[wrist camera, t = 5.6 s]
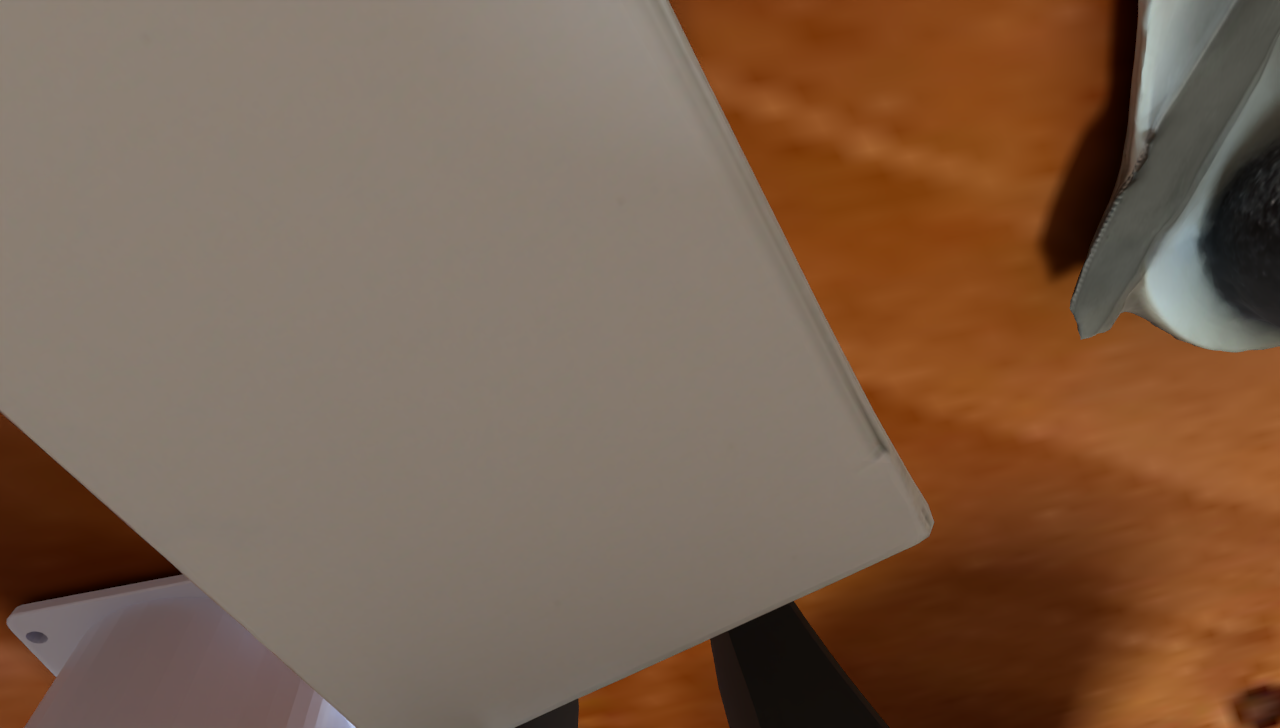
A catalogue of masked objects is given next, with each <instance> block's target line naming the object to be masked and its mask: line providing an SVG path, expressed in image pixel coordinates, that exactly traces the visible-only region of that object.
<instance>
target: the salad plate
mask: <svg viewBox="0 0 1280 728" xmlns="http://www.w3.org/2000/svg"><path fill="white" fill-rule="evenodd" d="M1070 310H1071V312H1072V313H1073V315H1074V317H1075V320H1076V322H1077V326H1078V331H1079V334H1080V336H1081V339H1085V338H1089V337H1092V336H1094V335H1096V334H1098V333H1104V332H1106V331H1108V330H1110V328H1111V327H1112V325H1113V324H1114V322H1115V321H1116V319H1117V318H1118V316H1119V315H1120V313H1122V312H1131V313H1133V314H1136V315H1138V316H1140V317H1142V318H1144V319H1146V320H1148V321H1150V322H1151V323H1152V324H1153V325H1154V326H1156V327H1158V328H1160V329H1162V330H1164V331H1165V332H1167V333H1169V334H1171V335H1172V336H1173V337H1174V338H1176V339H1178V340H1181V341H1184V342H1187V343H1190V344H1192V345H1194V346H1198V347H1201V348H1205V349H1210V350H1221V351H1226V352H1242V351H1246V350H1264V349H1268V348H1273V347H1278V346H1280V0H1139V1H1138V26H1137V36H1136V47H1135V58H1134V66H1133V74H1132V84H1131V95H1130V106H1129V117H1128V126H1127V133H1126V139H1125V144H1124V150H1123V155H1122V161H1121V166H1120V170H1119V173H1118V177H1117V181H1116V184H1115V187H1114V190H1113V193H1112V195H1111V198H1110V201H1109V203H1108V205H1107V208H1106V210H1105V212H1104V214H1103V216H1102V218H1101V221H1100V223H1099V225H1098V228H1097V230H1096V233H1095V235H1094V237H1093V240H1092V242H1091V244H1090V247H1089V250H1088V254H1087V258H1086V260H1085V262H1084V265H1083V267H1082V270H1081V272H1080V275H1079V277H1078V280H1077V283H1076V287H1075V290H1074V293H1073V296H1072V299H1071V303H1070ZM1081 339H1080V340H1081Z"/></svg>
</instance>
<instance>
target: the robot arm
mask: <svg viewBox="0 0 1280 728" xmlns="http://www.w3.org/2000/svg"><path fill="white" fill-rule="evenodd" d="M6 624H7V625H8V627H9V629H10V630H11V631H12V632H13V633H14V634H15V635H16V636H17V637H18V638H19V639H20V640H21V641H22V642H23V643H24V644H25V645H26V646H27V648H28V649H29V650H30V651H31V652H32V653H33V654H34V655H35V656H36V657H37V658H38V659H39V660H40V661H41V662H42V663H43V664H44V665H45V666H46V667H47V668H48V669H49V670H50V671H51V672H52V673H53V674H54V675H55V676H56V679H55V680H54V682H53V684H52V685H51V687H50V688H49V690H48V691H47V693H46V695H45V696H44V698H43V699H42V701H41V702H40V704H39V705H38V707H37V709H36V710H35V712H34V713H33V715H32V716H31V718H30V720H29V721H28V723H27V724H26V726H25V727H24V728H356V727H355V726H354V725H353V724H351V723H350V722H349V721H348V720H347V719H346V718H345V717H344V716H343V715H342V714H340V713H339V712H338V711H337V710H336V709H335V708H334V707H333V706H332V705H330V704H329V703H328V702H327V701H326V700H325V699H324V698H323V697H321V696H320V695H319V694H318V693H317V692H316V691H315V690H313V689H312V688H311V687H310V686H309V685H308V684H307V683H305V682H304V681H303V680H302V679H301V678H300V677H299V676H297V675H296V674H295V673H294V672H293V671H292V670H290V669H289V668H288V667H287V666H286V665H285V664H284V663H283V662H282V661H281V660H280V659H279V658H277V657H276V656H275V655H274V654H273V653H272V652H271V651H270V650H268V649H267V648H266V647H265V646H264V645H263V644H261V643H260V642H259V641H258V640H257V639H256V638H255V637H254V636H253V635H252V634H251V633H250V632H248V631H247V630H246V629H245V628H244V627H243V626H242V625H241V624H240V623H238V622H237V621H236V620H235V619H234V618H233V617H231V616H230V615H229V614H228V613H227V612H226V611H224V610H223V609H222V608H221V607H220V606H219V605H217V604H216V603H215V602H214V601H213V600H212V599H210V598H209V597H208V596H207V595H206V594H205V593H204V592H203V591H201V590H200V589H199V588H198V587H197V586H196V585H195V584H193V583H192V582H191V581H190V580H189V579H188V578H187V577H186V576H184V575H183V574H182V575H177V576H172V577H166V578H161V579H156V580H150V581H145V582H140V583H135V584H129V585H124V586H119V587H113V588H108V589H103V590H98V591H92V592H87V593H82V594H76V595H71V596H66V597H61V598H55V599H50V600H45V601H39V602H34V603H29V604H23V605H21V606H18V607H16V608H15V609H14V610H13V612H12V613H11V614H10V616H9V617H8V618H7V623H6ZM710 640H711V646H712V652H713V657H714V663H715V669H716V674H717V680H718V685H719V690H720V693H721V697H722V701H723V704H724V708H725V712H726V715H727V719H728V723H729V727H730V728H889V726H888V725H887V724H886V723H885V722H884V720H883V719H882V718H881V717H880V716H879V714H878V713H877V712H876V711H875V710H874V708H873V707H872V706H871V705H870V703H869V702H868V701H867V700H866V698H865V697H864V696H863V695H862V693H861V692H860V691H859V690H858V688H857V687H856V686H855V685H854V683H853V682H852V681H851V680H850V678H849V677H848V676H847V674H846V673H845V672H844V671H843V669H842V668H841V667H840V665H839V664H838V663H837V661H836V660H835V659H834V657H833V656H832V655H831V653H830V652H829V651H828V649H827V648H826V646H825V645H824V644H823V642H822V641H821V639H820V638H819V637H818V635H817V634H816V632H815V631H814V630H813V628H812V627H811V625H810V624H809V623H808V621H807V620H806V618H805V617H804V616H803V614H802V613H801V611H800V610H799V608H798V607H797V605H796V604H795V603H794V601H792V602H790V603H788V604H786V605H783V606H781V607H779V608H777V609H775V610H772V611H770V612H768V613H766V614H764V615H761V616H759V617H757V618H755V619H753V620H750V621H748V622H746V623H744V624H742V625H739V626H737V627H735V628H733V629H731V630H728V631H726V632H724V633H722V634H720V635H717V636H715V637H713V638H711V639H710ZM578 712H579V704H578V699H575V700H573V701H571V702H569V703H567V704H565V705H562V706H560V707H558V708H556V709H554V710H552V711H549V712H547V713H545V714H543V715H541V716H539V717H536V718H534V719H532V720H530V721H528V722H526V723H523V724H521V725H519V726H517V727H515V728H578Z"/></svg>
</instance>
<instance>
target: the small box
mask: <svg viewBox="0 0 1280 728" xmlns="http://www.w3.org/2000/svg"><path fill="white" fill-rule="evenodd" d="M0 412H1V413H2V414H3V415H4V416H5V417H6V418H7V419H9V420H10V421H11V422H12V423H13V424H14V425H15V426H16V427H18V428H19V429H20V430H21V431H22V432H23V433H24V434H26V435H27V436H28V437H29V438H30V439H31V440H32V441H34V442H35V443H36V444H37V445H38V446H39V447H40V448H41V449H43V450H44V451H45V452H46V453H47V454H48V455H49V456H50V457H52V458H53V459H54V460H55V461H56V462H57V463H58V464H60V465H61V466H62V467H63V468H64V469H65V470H66V471H67V472H69V473H70V474H71V475H72V476H73V477H74V478H75V479H77V480H78V481H79V482H80V483H81V484H82V485H83V486H84V487H86V488H87V489H88V490H89V491H90V492H91V493H92V494H93V495H94V496H96V497H97V498H98V499H99V500H100V501H101V502H102V503H103V504H104V505H106V506H107V507H108V508H109V509H110V510H111V511H112V512H113V513H115V514H116V515H117V516H118V517H119V518H120V519H121V520H122V521H124V522H125V523H126V524H127V525H128V526H129V527H130V528H131V529H133V530H134V531H135V532H136V533H137V534H138V535H139V536H141V537H142V538H143V539H144V540H145V541H146V542H148V543H149V544H150V545H151V546H152V547H153V548H154V549H156V550H157V551H158V552H159V553H160V554H161V555H163V556H164V557H165V558H166V559H167V560H168V561H169V562H170V563H171V564H173V565H174V566H175V567H176V568H177V569H178V570H179V571H180V572H181V573H182V574H183V575H184V576H186V577H187V578H188V579H189V580H190V581H191V582H192V583H193V584H195V585H196V586H197V587H198V588H199V589H200V590H201V591H203V592H204V593H205V594H206V595H207V596H208V597H209V598H210V599H212V600H213V601H214V602H215V603H216V604H217V605H219V606H220V607H221V608H222V609H223V610H224V611H226V612H227V613H228V614H229V615H230V616H231V617H233V618H234V619H235V620H236V621H237V622H238V623H240V624H241V625H242V626H243V627H244V628H245V629H246V630H247V631H248V632H250V633H251V634H252V635H253V636H254V637H255V638H256V639H257V640H258V641H259V642H260V643H261V644H263V645H264V646H265V647H266V648H267V649H268V650H270V651H271V652H272V653H273V654H274V655H275V656H276V657H277V658H279V659H280V660H281V661H282V662H283V663H284V664H285V665H286V666H287V667H288V668H289V669H290V670H292V671H293V672H294V673H295V674H296V675H297V676H299V677H300V678H301V679H302V680H303V681H304V682H305V683H307V684H308V685H309V686H310V687H311V688H312V689H313V690H315V691H316V692H317V693H318V694H319V695H320V696H321V697H323V698H324V699H325V700H326V701H327V702H328V703H329V704H330V705H332V706H333V707H334V708H335V709H336V710H337V711H338V712H339V713H340V714H342V715H343V716H344V717H345V718H346V719H347V720H348V721H349V722H350V723H351V724H353V725H354V726H355V727H356V728H515V727H517V726H519V725H521V724H523V723H526V722H528V721H530V720H532V719H534V718H536V717H539V716H541V715H543V714H545V713H547V712H549V711H552V710H554V709H556V708H558V707H560V706H562V705H565V704H567V703H569V702H571V701H573V700H575V699H578V698H580V697H582V696H584V695H587V694H589V693H591V692H593V691H596V690H598V689H600V688H602V687H605V686H607V685H609V684H612V683H614V682H616V681H618V680H620V679H623V678H625V677H627V676H629V675H631V674H634V673H636V672H638V671H640V670H642V669H645V668H647V667H649V666H651V665H654V664H656V663H658V662H660V661H662V660H665V659H667V658H669V657H671V656H673V655H676V654H678V653H680V652H682V651H684V650H687V649H689V648H691V647H693V646H695V645H698V644H700V643H702V642H704V641H706V640H709V639H711V638H713V637H715V636H717V635H720V634H722V633H724V632H726V631H728V630H731V629H733V628H735V627H737V626H739V625H742V624H744V623H746V622H748V621H750V620H753V619H755V618H757V617H759V616H761V615H764V614H766V613H768V612H770V611H772V610H775V609H777V608H779V607H781V606H783V605H786V604H788V603H790V602H792V601H794V600H797V599H799V598H801V597H803V596H805V595H808V594H810V593H812V592H814V591H816V590H819V589H821V588H823V587H825V586H827V585H830V584H832V583H834V582H836V581H839V580H841V579H843V578H845V577H847V576H849V575H852V574H854V573H856V572H858V571H860V570H862V569H865V568H867V567H869V566H871V565H873V564H875V563H878V562H880V561H882V560H884V559H886V558H888V557H890V556H893V555H895V554H897V553H899V552H901V551H903V550H906V549H908V548H910V547H912V546H914V545H916V544H918V543H920V542H921V541H923V540H924V539H926V538H927V537H929V535H930V533H931V530H932V527H933V525H934V520H933V517H932V514H931V511H930V509H929V506H928V504H927V502H926V500H925V499H924V497H923V495H922V494H921V492H920V491H919V489H918V487H917V486H916V484H915V482H914V481H913V479H912V477H911V476H910V474H909V472H908V471H907V469H906V467H905V465H904V464H903V462H902V460H901V458H900V457H899V455H898V453H897V451H896V450H895V448H894V446H893V444H892V443H891V441H890V439H889V437H888V435H887V434H886V432H885V430H884V428H883V427H882V425H881V423H880V421H879V420H878V418H877V416H876V414H875V413H874V411H873V409H872V407H871V405H870V403H869V401H868V399H867V397H866V395H865V393H864V392H863V390H862V388H861V386H860V384H859V382H858V380H857V378H856V376H855V374H854V372H853V370H852V368H851V366H850V364H849V362H848V361H847V359H846V357H845V355H844V353H843V351H842V349H841V347H840V345H839V343H838V341H837V339H836V337H835V335H834V333H833V331H832V330H831V328H830V326H829V324H828V322H827V320H826V318H825V316H824V314H823V312H822V310H821V308H820V306H819V304H818V302H817V300H816V298H815V296H814V294H813V292H812V290H811V288H810V286H809V284H808V282H807V280H806V278H805V276H804V274H803V272H802V270H801V268H800V266H799V264H798V262H797V260H796V258H795V256H794V254H793V252H792V250H791V248H790V246H789V244H788V242H787V240H786V238H785V236H784V234H783V232H782V230H781V228H780V226H779V223H778V221H777V219H776V217H775V215H774V213H773V211H772V209H771V207H770V205H769V203H768V201H767V199H766V197H765V195H764V193H763V191H762V189H761V187H760V185H759V183H758V181H757V179H756V177H755V175H754V173H753V171H752V169H751V167H750V165H749V163H748V161H747V159H746V157H745V155H744V153H743V151H742V149H741V147H740V145H739V143H738V141H737V139H736V137H735V135H734V133H733V131H732V129H731V127H730V125H729V123H728V121H727V119H726V117H725V115H724V113H723V111H722V109H721V107H720V105H719V103H718V101H717V99H716V97H715V95H714V93H713V91H712V89H711V87H710V85H709V83H708V81H707V78H706V76H705V74H704V72H703V70H702V68H701V66H700V64H699V62H698V60H697V58H696V56H695V54H694V52H693V50H692V48H691V46H690V44H689V42H688V40H687V37H686V35H685V33H684V31H683V29H682V27H681V25H680V23H679V21H678V19H677V17H676V15H675V13H674V11H673V9H672V7H671V5H670V3H669V1H668V0H0Z"/></svg>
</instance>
